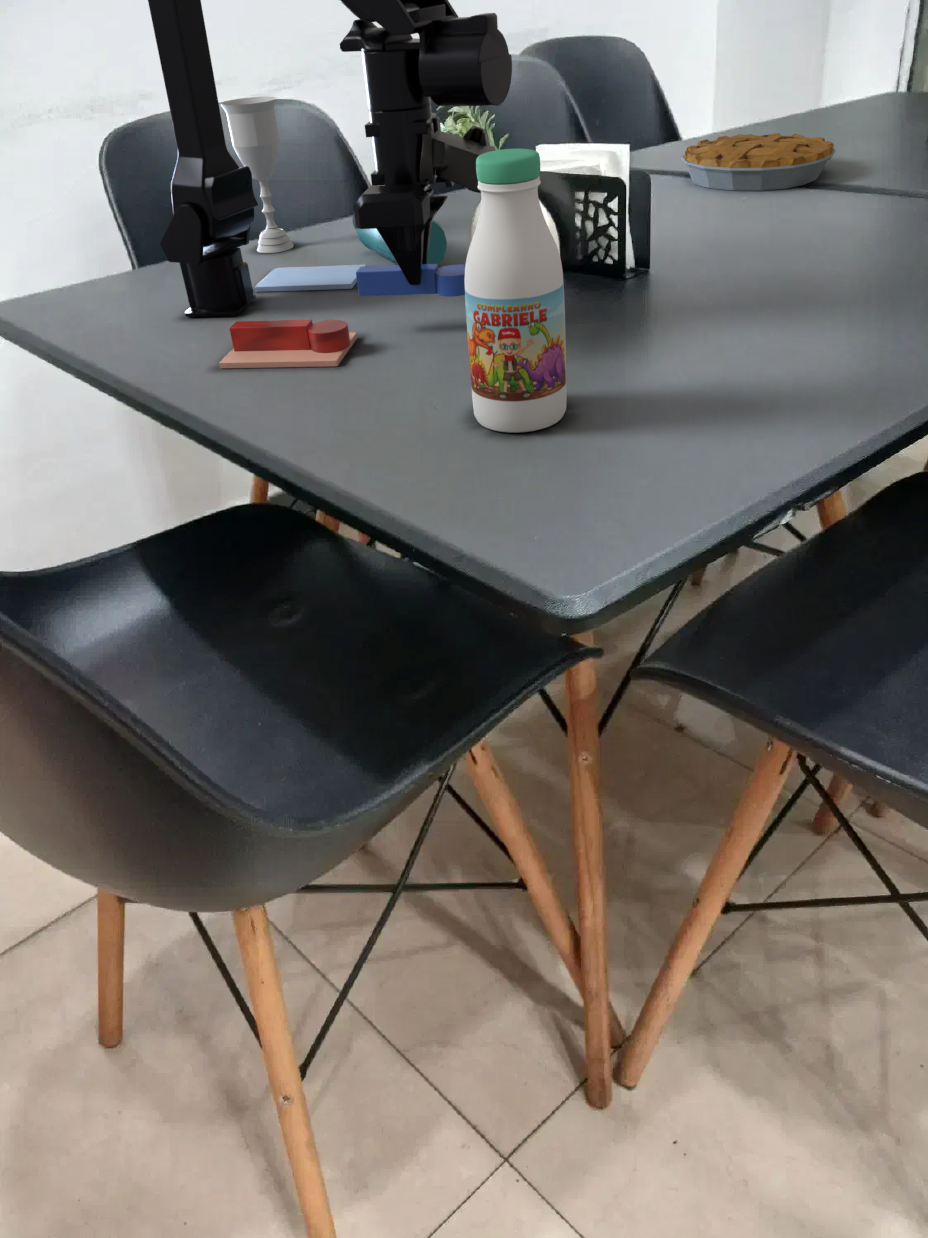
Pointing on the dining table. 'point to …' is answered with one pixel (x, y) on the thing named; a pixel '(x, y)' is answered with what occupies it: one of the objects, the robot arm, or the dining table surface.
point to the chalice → (258, 156)
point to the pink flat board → (284, 358)
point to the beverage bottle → (377, 244)
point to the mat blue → (309, 278)
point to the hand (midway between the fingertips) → (417, 280)
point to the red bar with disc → (290, 335)
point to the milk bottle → (514, 300)
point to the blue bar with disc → (395, 283)
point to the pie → (757, 161)
